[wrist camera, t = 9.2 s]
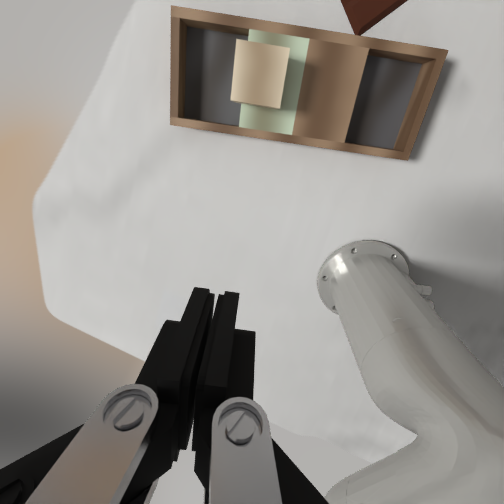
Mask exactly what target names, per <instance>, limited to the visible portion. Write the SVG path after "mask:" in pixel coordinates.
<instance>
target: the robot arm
mask: <svg viewBox="0 0 504 504" xmlns="http://www.w3.org/2000/svg"><path fill="white" fill-rule="evenodd" d="M353 248H354V249H353ZM352 249H353V250H352ZM317 286H318V292H319V295H320V298H321V300H322V302H323V303H324V304H325V306H326V307H327V308H328V309H329V310H331V311H332V312H334V313H336V314H338V315H339V317H340V320H341V323H342V325H343V328H344V330H345V333H346V336H347V338H348V341H349V344H350V346H351V349H352V352H353V354H354V357H355V360H356V362H357V365H358V368H359V370H360V373H361V376H362V378H363V381H364V384H365V386H366V389H367V391H368V393H369V395H370V397H371V399H372V400H373V402H374V403H375V404H376V406H377V407H378V408H379V409H380V410H381V411H382V412H383V413H384V414H385V415H386V416H388V417H389V418H390V419H392V420H393V421H394V422H396V423H398V424H399V425H401V426H402V427H404V428H406V429H408V430H410V431H412V432H413V433H415V434H417V435H418V436H417V438H416V439H415V440H414V441H413V442H412V443H411V444H409V445H407V446H405V447H404V448H402V449H400V450H398V451H397V452H396V453H394V454H392V455H390V456H388V457H386V458H384V459H382V460H380V461H378V462H375V463H373V464H372V465H369V466H367V467H365V468H363V469H361V470H359V471H357V472H355V473H354V474H352V475H350V476H348V477H346V478H344V479H343V480H341V481H340V482H338V483H337V484H335V485H334V486H333V487H332V488H331V489H330V490H329V491H328V493H327V494H326V496H325V497H323V496H322V495H321V494H320V493H319V492H318V490H317V489H316V488H315V487H314V486H313V485H312V483H311V482H310V481H309V480H308V479H307V478H306V477H305V476H304V474H303V473H302V472H301V471H300V470H299V469H298V468H297V466H296V465H295V464H294V463H293V462H292V461H291V459H289V457H288V456H287V455H286V454H285V453H284V452H283V450H282V449H281V448H280V447H279V446H278V445H277V444H276V442H275V441H274V440H273V439H272V438H271V433H270V426H269V421H268V418H267V415H266V413H265V411H264V410H263V409H262V407H261V406H260V405H259V404H257V403H256V402H255V401H253V388H254V362H255V331H247V330H240V329H235V322H236V315H237V308H238V300H239V293H235V292H228V291H225V294H224V295H221V294H219V296H218V300H217V303H216V307H215V311H214V315H213V307H214V296H215V294H213V293H210V290H209V289H206V288H198V287H194V289H193V292H192V294H191V296H190V299H189V301H188V304H187V306H186V309H185V311H184V314H183V316H182V319H181V321H180V322H179V321H172V320H166V321H165V323H164V324H163V326H162V328H161V331H160V333H159V335H158V337H157V339H156V341H155V343H154V345H153V347H152V349H151V351H150V353H149V355H148V357H147V359H146V362H145V364H144V366H143V368H142V370H141V372H140V374H139V376H138V378H137V380H136V382H135V384H130V385H125V386H122V387H120V388H117V389H115V390H114V391H112V392H111V393H109V394H108V395H107V396H106V397H105V398H104V399H103V400H102V401H101V403H100V404H99V406H98V407H97V408H96V409H95V411H94V412H93V413H92V415H91V416H90V418H89V419H88V420H87V421H86V423H85V424H83V425H81V426H79V427H77V428H75V429H73V430H72V431H70V432H68V433H66V434H64V435H63V436H61V437H59V438H57V439H55V440H53V441H51V442H50V443H48V444H46V445H44V446H42V447H41V448H39V449H37V450H35V451H33V452H31V453H30V454H28V455H26V456H24V457H22V458H20V459H19V460H17V461H15V462H13V463H11V464H10V465H8V466H6V467H4V468H2V469H0V504H149V503H150V500H151V498H152V495H153V493H154V491H155V489H156V486H157V483H158V479H159V477H160V476H162V475H163V474H164V473H165V472H167V471H168V470H169V469H171V467H172V463H173V461H177V459H178V455H179V451H180V449H182V450H186V449H187V445H188V441H189V437H190V433H191V428H192V424H193V420H194V424H193V439H192V451H196V454H195V466H194V472H195V473H196V475H197V476H198V478H199V480H200V481H201V483H202V485H203V486H204V504H504V387H503V386H502V385H501V384H500V383H499V382H498V381H497V380H496V379H495V378H494V377H493V375H492V374H491V373H490V372H489V371H488V370H487V369H486V368H485V367H484V366H483V365H482V364H481V363H480V362H479V361H478V360H477V358H476V357H475V356H474V355H473V354H472V353H471V352H470V351H469V349H468V348H467V347H466V346H465V345H464V344H463V343H462V342H461V340H460V339H459V338H458V337H457V336H456V335H455V334H454V333H453V331H452V330H451V329H450V328H449V327H448V326H447V325H446V323H445V322H444V321H443V320H442V319H441V318H440V317H439V315H438V314H437V313H436V312H435V311H434V303H433V301H431V300H426V299H424V298H423V297H422V296H421V295H425V296H430V295H431V293H432V288H431V286H427V285H416V284H415V283H414V282H413V281H412V279H411V278H410V277H409V268H408V265H407V263H406V260H405V259H404V258H403V256H402V255H401V254H400V253H399V252H398V251H397V250H396V249H395V248H393V247H391V246H390V245H388V244H385V243H382V242H379V241H372V240H370V241H359V242H354V243H351V244H348V245H345V246H343V247H342V248H340V249H338V250H336V251H335V252H334V253H333V254H332V255H330V256H329V257H328V259H327V260H326V261H325V262H324V264H323V265H322V267H321V269H320V272H319V275H318V280H317ZM212 317H213V319H212Z"/></svg>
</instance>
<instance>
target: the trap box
mask: <svg viewBox="0 0 504 504" xmlns="http://www.w3.org/2000/svg"><path fill="white" fill-rule="evenodd" d="M236 39H240V40H246V41H252V42H258V43H264V44H270V45H275V46H281V47H287V48H290V52H289V58H288V64H287V70H286V75H285V81H284V87H283V93H282V99H281V105H280V109H273V108H267V107H260V106H254V105H248V104H242V103H236V102H233V101H231V90H232V80H233V69H234V59H235V49H236ZM447 53H448V50H445V49H439V48H433V47H426V46H420V45H414V44H408V43H402V42H395V41H389V40H383V39H377V38H371V37H364V36H358V35H352V34H346V33H340V32H333V31H327V30H321V29H315V28H308V27H302V26H296V25H290V24H284V23H277V22H271V21H265V20H259V19H253V18H246V17H240V16H234V15H228V14H222V13H215V12H209V11H203V10H197V9H191V8H184V7H178V6H172V5H171V82H170V125H174V126H181V127H188V128H194V129H201V130H208V131H214V132H221V133H228V134H234V135H241V136H247V137H254V138H261V139H267V140H274V141H281V142H287V143H294V144H301V145H307V146H314V147H321V148H327V149H334V150H341V151H347V152H354V153H361V154H367V155H374V156H381V157H387V158H394V159H401V160H407V161H408V159H409V156H410V154H411V151H412V148H413V145H414V143H415V140H416V137H417V135H418V132H419V129H420V126H421V124H422V121H423V118H424V116H425V113H426V110H427V107H428V105H429V102H430V99H431V97H432V94H433V91H434V88H435V86H436V83H437V80H438V78H439V75H440V72H441V69H442V67H443V64H444V61H445V59H446V56H447Z"/></svg>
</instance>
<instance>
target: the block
mask: <svg viewBox="0 0 504 504" xmlns="http://www.w3.org/2000/svg"><path fill="white" fill-rule="evenodd" d="M289 52H290V48H287V47H281V46H275V45H270V44H264V43H258V42H252V41H246V40H240V39H236V49H235V59H234V69H233V80H232V90H231V101H233V102H236V103H242V104H248V105H254V106H260V107H267V108H273V109H280V105H281V99H282V93H283V87H284V81H285V75H286V70H287V64H288V58H289Z"/></svg>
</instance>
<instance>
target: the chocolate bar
mask: <svg viewBox="0 0 504 504" xmlns="http://www.w3.org/2000/svg"><path fill="white" fill-rule="evenodd" d="M406 1H407V0H341V3H342V5H343V7H344V10H345V12H346V14H347V17H348V19H349V22H350V24H351V26H352V29H353V31H354V34H355V35H358V36H360V35H361V34H363V33H364V32H365V31H367V30H368V29H369V28H371V27H372V26H373V25H375V24H376V23H377V22H379V21H380V20H381V19H383V18H384V17H385V16H387V15H388V14H390V13H391V12H392V11H394V10H395V9H396V8H398V7H399V6H400V5H402V4H403V3H404V2H406Z"/></svg>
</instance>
